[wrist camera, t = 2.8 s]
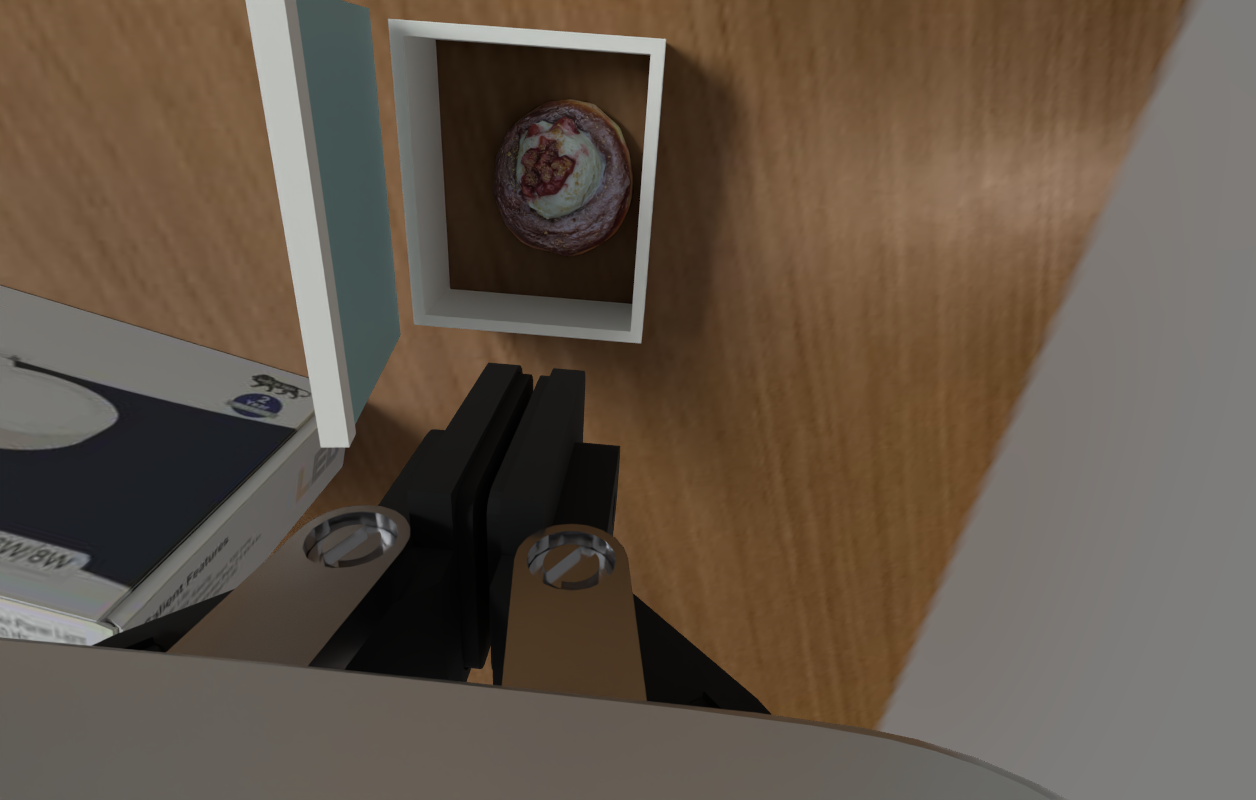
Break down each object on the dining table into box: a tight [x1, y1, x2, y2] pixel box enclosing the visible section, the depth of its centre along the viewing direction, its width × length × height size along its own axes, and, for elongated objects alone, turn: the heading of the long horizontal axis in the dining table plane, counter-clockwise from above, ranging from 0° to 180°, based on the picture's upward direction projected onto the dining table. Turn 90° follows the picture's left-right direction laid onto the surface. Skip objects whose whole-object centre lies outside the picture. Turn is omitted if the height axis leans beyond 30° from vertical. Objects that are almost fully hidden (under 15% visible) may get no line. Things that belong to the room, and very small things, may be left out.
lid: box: [246, 0, 401, 447], centre depth 26 cm, size 15×11×1 cm
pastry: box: [494, 99, 633, 257], centre depth 33 cm, size 8×8×5 cm
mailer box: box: [388, 19, 666, 343], centre depth 34 cm, size 14×12×4 cm
